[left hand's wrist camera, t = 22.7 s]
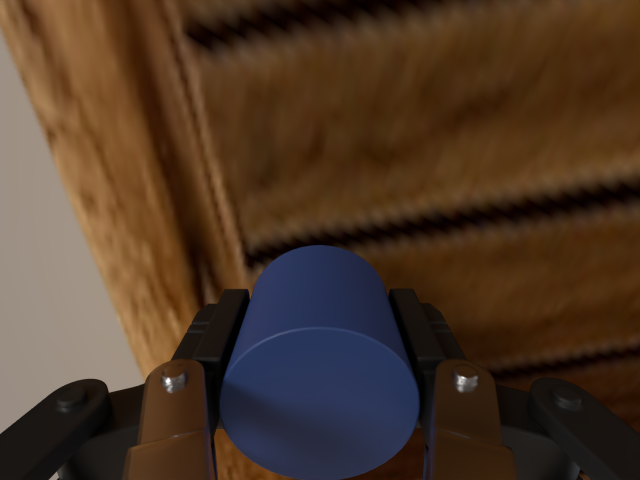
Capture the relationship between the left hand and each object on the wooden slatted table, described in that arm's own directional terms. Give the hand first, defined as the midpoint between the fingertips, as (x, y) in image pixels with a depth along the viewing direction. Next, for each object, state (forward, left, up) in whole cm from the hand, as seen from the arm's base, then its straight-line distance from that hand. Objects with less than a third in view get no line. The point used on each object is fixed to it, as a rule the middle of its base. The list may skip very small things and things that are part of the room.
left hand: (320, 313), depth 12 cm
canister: (0, 0, 0) cm, 0 cm away
